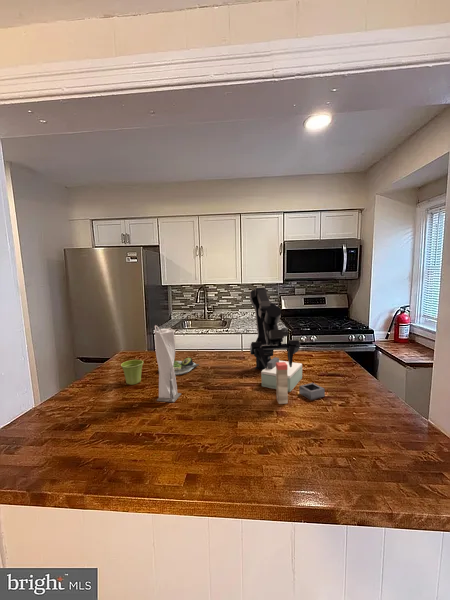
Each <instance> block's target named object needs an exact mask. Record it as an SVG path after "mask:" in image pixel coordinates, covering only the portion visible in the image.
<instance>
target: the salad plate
mask: <svg viewBox="0 0 450 600" xmlns="http://www.w3.org/2000/svg"><path fill="white" fill-rule="evenodd" d="M199 365H200V363H195V362H194V361H193V359H192V358H191V357H186V358H184V359H183V360H175V359H174V365H173V368H174V372H175V376H180V375H186V374H188V373H189V372H191V371H193V370H194V369H196V367H198V366H199ZM192 369H193V370H192ZM157 371H158V372H159V368H157Z"/></svg>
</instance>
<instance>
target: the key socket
mask: <svg viewBox="0 0 450 600" xmlns="http://www.w3.org/2000/svg"><path fill="white" fill-rule="evenodd" d="M298 387H299V390H298V392H299V394H300V395H301V396H303V397H305V398H307V399H308V400H310V401H314V400H317V399H320V398H324V397H325V396H326V395H325V394H326V392H325V389H326V388H324V387H322V386H320V385H319V384H317V383H314V382H310V383H306V384H302V385H299V386H298Z"/></svg>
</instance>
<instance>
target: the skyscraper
mask: <svg viewBox="0 0 450 600" xmlns="http://www.w3.org/2000/svg"><path fill="white" fill-rule="evenodd" d="M154 331H155V333H154V334H155V335H154V337H155V338H154V339H155V345H154V349H155V356H156V362H157V365H158V369H159V371H158V398H157V399H156V401H157V402H166V403H175V402H176V401H177V400H178V399H179V398H180V397H181V396H182V393H181V392H178V385H177V379H176V375H175V372H174V368H173V365H174V360H175V357H176V340H175V339H176V337H175V331H174V329H172V328H171V327H168V328H160V327H159V326H158V325H156V324H155V325H154Z"/></svg>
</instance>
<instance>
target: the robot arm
mask: <svg viewBox="0 0 450 600" xmlns="http://www.w3.org/2000/svg"><path fill="white" fill-rule="evenodd" d="M249 301H250V303H251V306H252V307H253V308H254V311H255V321H256V330H257V331H256V332H257V338H256V340H255V341H251V343H250V347H249V352H250V355H252V356H254V357H255V362H256V363H255V365H256V366H255V367H254V369H255V370H260V371H262V370H264V369H265V368H266V369H267V363H268V362H269V361H270V360H272V359H273V358H271V357H273V356H274V350H286V351H287V353H286V356H287V359H288V361H287V362H289V365H290V367H292V362H293V359H294V355H295V354H296V353H297V352H299V350H300V347H301V342H300V340H298V339H288V340H287V343H283V342H284V337H288V336H289V330H288V327H281V328H279V326H278V325H279V323H280V318H281V316H282V309H281V308H280V306H278V305H276V303H274V302H272V301H270V299H269V296H268V290H267V288H266V287H256V288H254V290H251V291H250V292H249Z"/></svg>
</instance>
